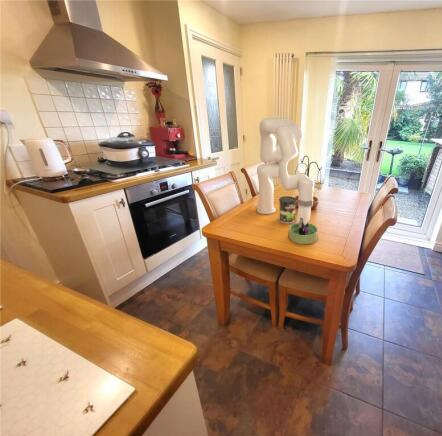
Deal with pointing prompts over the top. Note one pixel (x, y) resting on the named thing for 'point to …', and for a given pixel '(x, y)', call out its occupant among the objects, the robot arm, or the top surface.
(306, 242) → the bowl
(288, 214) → the coffee can
